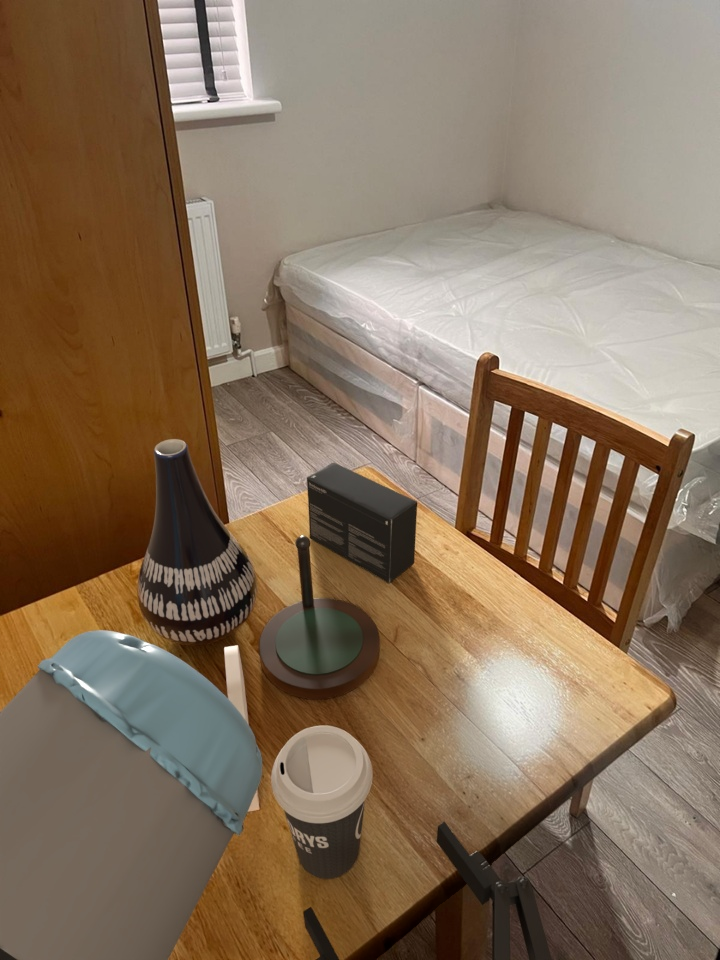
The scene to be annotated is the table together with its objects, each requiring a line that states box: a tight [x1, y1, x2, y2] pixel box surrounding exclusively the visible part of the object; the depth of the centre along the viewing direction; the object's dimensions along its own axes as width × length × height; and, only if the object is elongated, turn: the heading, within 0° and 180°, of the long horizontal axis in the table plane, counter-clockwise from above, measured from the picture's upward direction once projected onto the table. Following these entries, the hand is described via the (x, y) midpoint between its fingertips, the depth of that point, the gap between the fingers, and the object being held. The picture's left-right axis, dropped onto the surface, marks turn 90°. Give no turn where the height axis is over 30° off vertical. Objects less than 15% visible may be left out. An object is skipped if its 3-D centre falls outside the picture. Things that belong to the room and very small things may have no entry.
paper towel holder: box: [258, 535, 381, 700], centre depth 94 cm, size 16×16×14 cm
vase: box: [136, 438, 259, 647], centre depth 94 cm, size 16×16×30 cm
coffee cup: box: [270, 725, 374, 880], centre depth 72 cm, size 10×10×15 cm
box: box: [306, 461, 418, 584], centre depth 112 cm, size 17×7×12 cm, turn 49°
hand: (376, 872), depth 63 cm, fingers open, 13 cm apart
